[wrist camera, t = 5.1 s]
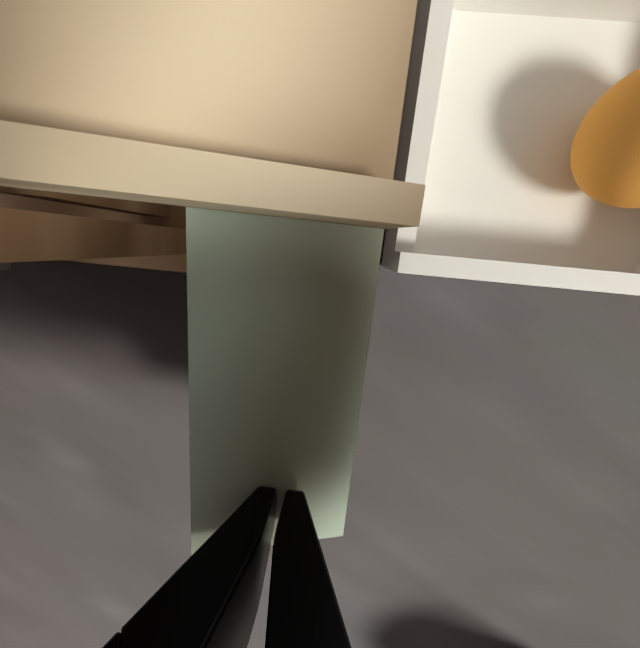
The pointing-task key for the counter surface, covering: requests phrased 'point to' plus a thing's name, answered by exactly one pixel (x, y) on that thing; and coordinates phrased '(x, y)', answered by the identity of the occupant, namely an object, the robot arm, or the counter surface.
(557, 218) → the dish
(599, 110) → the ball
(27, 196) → the stand
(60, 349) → the counter surface
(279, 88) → the lever
